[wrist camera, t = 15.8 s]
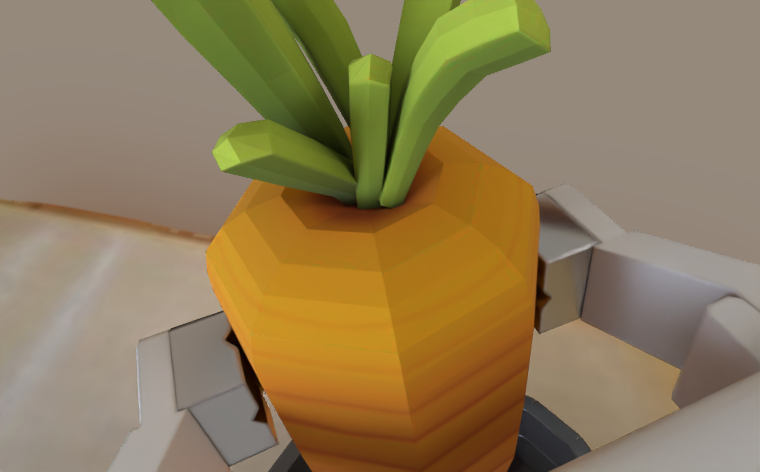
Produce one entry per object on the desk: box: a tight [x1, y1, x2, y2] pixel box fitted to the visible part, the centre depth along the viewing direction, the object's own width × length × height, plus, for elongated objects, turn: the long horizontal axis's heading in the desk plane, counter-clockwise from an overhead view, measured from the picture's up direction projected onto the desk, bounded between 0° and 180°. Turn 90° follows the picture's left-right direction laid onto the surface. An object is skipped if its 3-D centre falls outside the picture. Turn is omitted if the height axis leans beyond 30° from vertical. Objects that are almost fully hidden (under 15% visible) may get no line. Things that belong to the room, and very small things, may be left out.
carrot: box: [151, 0, 551, 472], centre depth 10 cm, size 5×5×15 cm
